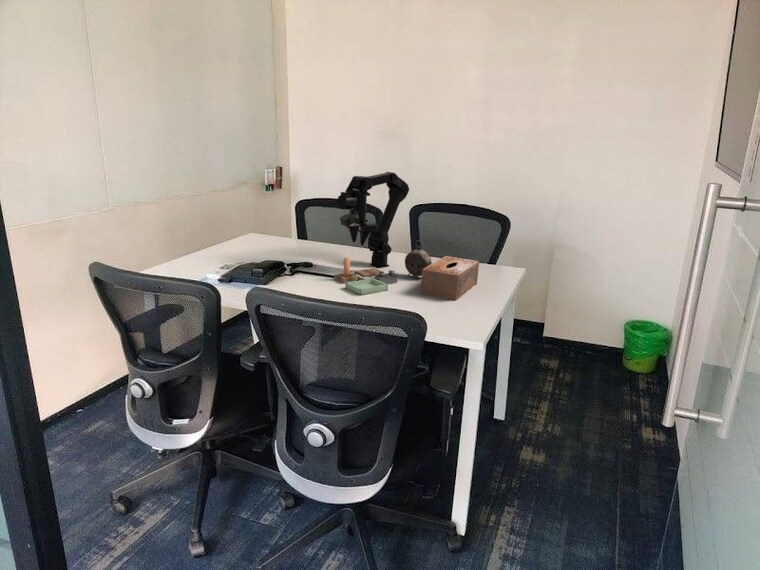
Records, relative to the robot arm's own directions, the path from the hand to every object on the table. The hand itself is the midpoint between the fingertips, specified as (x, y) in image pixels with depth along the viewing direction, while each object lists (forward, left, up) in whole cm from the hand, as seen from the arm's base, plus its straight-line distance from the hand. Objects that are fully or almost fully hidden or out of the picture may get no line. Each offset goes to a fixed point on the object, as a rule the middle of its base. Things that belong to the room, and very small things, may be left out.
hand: (358, 243), depth 241 cm
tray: (+12, +24, -12) cm, 29 cm away
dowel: (+12, +10, -12) cm, 19 cm away
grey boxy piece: (0, +21, -12) cm, 24 cm away
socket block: (+12, +10, -12) cm, 19 cm away
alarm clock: (-16, +21, -12) cm, 29 cm away
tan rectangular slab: (0, +9, -12) cm, 15 cm away
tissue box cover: (-18, +39, -12) cm, 44 cm away
